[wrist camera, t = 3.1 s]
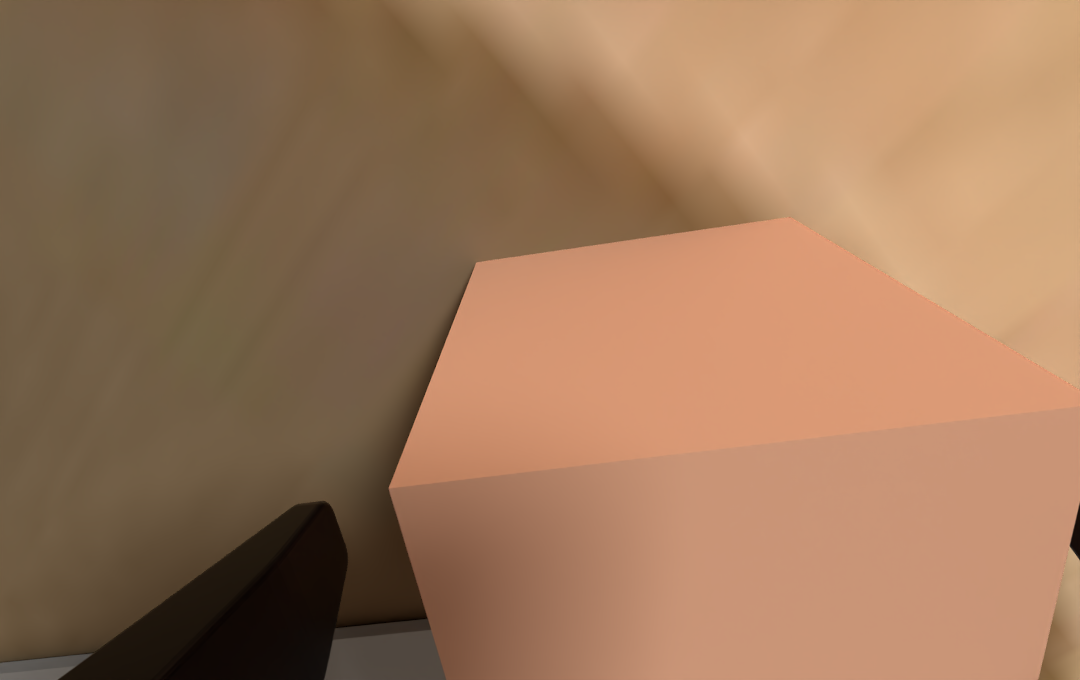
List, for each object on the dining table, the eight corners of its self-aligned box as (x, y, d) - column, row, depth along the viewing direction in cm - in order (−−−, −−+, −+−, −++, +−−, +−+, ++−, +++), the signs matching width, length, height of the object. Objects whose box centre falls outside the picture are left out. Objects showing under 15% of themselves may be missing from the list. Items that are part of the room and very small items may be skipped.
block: (526, 507, 12) (505, 875, 7) (476, 261, 10) (388, 487, 5) (787, 477, 12) (1000, 840, 6) (788, 216, 10) (1102, 403, 4)
